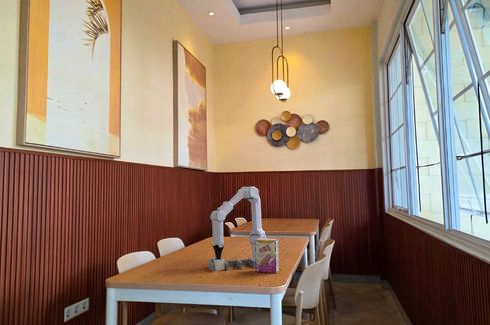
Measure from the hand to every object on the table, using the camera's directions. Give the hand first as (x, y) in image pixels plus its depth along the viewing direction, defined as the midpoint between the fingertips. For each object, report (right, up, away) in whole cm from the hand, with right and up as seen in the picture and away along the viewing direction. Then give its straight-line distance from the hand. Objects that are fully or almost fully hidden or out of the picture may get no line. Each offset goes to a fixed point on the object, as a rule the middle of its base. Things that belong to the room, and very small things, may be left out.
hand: (218, 259), depth 189 cm
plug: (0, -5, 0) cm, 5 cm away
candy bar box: (+25, -4, -9) cm, 27 cm away
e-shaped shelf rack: (+7, -5, +3) cm, 9 cm away
